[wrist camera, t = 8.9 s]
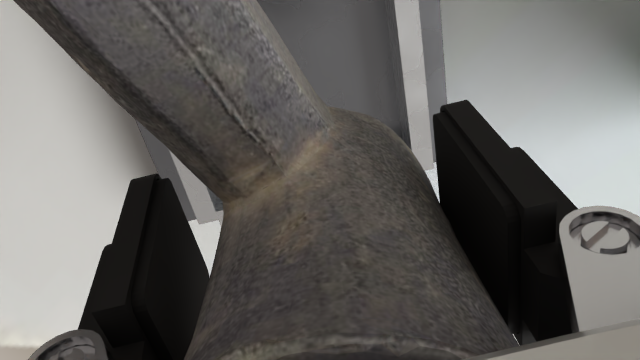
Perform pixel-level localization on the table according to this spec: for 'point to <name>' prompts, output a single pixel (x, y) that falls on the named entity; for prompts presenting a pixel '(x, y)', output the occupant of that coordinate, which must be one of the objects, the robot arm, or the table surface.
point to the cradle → (347, 75)
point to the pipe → (285, 190)
